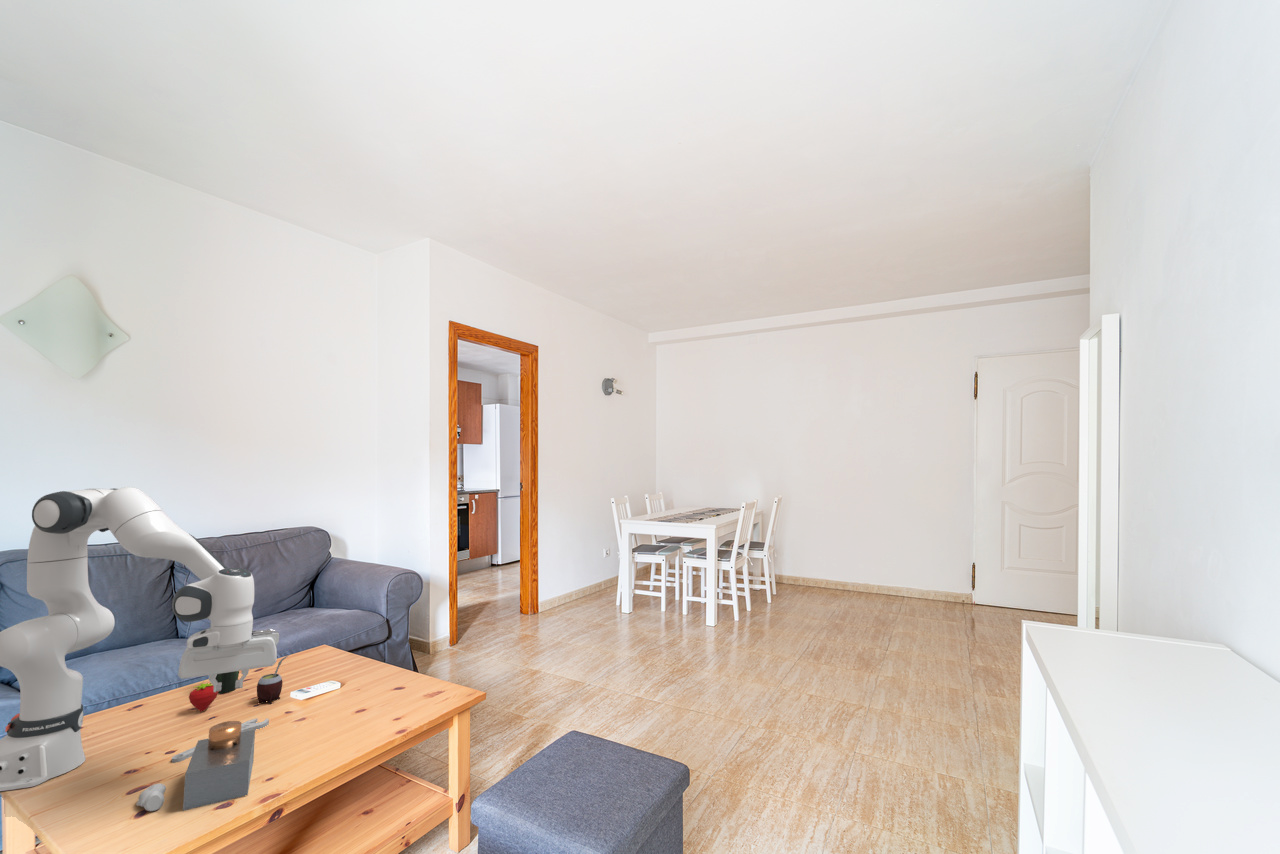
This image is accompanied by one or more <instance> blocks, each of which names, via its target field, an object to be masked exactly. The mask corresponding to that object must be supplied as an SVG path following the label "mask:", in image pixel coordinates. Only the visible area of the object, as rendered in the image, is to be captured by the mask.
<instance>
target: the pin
mask: <svg viewBox="0 0 1280 854" xmlns="http://www.w3.org/2000/svg"><path fill="white" fill-rule="evenodd" d="M241 723H242V721H239V720H230V721H229V720H228V721H223V722H220V723H217V724H215V725H212V726H210V728H209V729H208V738H207V739H208V748H209V749H212V750H219V749H224V748H228V747H231V746H234V745H236V744H237V743H239V742H240V740H241Z"/></svg>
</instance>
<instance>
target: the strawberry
mask: <svg viewBox="0 0 1280 854" xmlns="http://www.w3.org/2000/svg"><path fill="white" fill-rule="evenodd" d="M213 691H214V686H213V685H212V683H211V682H210V683H209V682H207V683H204V681H202V683H200V685H196V686H193V690H192V691H191V692H190V693H189V695H188V700H189V703H190V704H191V705H192V706H193V707H194V708H196V709H197V710H198V712H204V711H206V710H207V709H208V708H209V707H210V705H211V704H212V703H214V701H215V700H216V698H217V697H218V695H219V694H218V692H213Z"/></svg>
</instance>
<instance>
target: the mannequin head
mask: <svg viewBox="0 0 1280 854" xmlns="http://www.w3.org/2000/svg"><path fill="white" fill-rule="evenodd" d="M166 791H167V787H166V785H165V784H164V783H154V784H152V785H150V786H148V787H146V789H144V790H143V791H142V792H140V794H139V797H138V800H137V801H136V804H135V805H136V806H137V807H142V808H144V810H145V811H147V812H157V811H158V810H160V809H161V808H162V807H163V805H164V802H165V796H164V794H165V792H166Z"/></svg>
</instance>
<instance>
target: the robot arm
mask: <svg viewBox="0 0 1280 854" xmlns="http://www.w3.org/2000/svg"><path fill="white" fill-rule="evenodd" d="M31 519H32V522H33V524H34V527H33V529H32V532H31V535H30V539H29V543H28V549H27V550H28V551H27V561H26V591H27V594H28V595H29V596H30V597H32V598H34V599H37V600H38V601H42V602H43V603H44V604H45V606H46V608H47V611H48V614H47V615H44V616H39V617H36V618H32V619H31V618H30V619H28V620H24V621H21V622H19V623H16V624H14V625H11V626H9V627H7V628H4V629H3V630H2V631H1V630H0V667H2V668H5V669H7V670H9V671H11V673H12V674H13V675H14V676H15V677H16V680H17V682H18V685H19V690H20V697H19V698H20V699H19V701H20V703H19V713H17V714H15V715H14V716H13V717H11V719H10V721H9V722H8V723H7V725H6V726H5V731H4V732H5V733H6V735H5V736H3V737H2V738H0V792H5V791H13V790H18V789H19V790H21V789H25V788H31V787H32V788H33V787H36V786H38V785H40V784H43V783H45V782H46V781H48V780H51V779H53V778H56V777H58V776H61V775H64V774H66V773H68V772H70V771H73V770H74V769H76V768H78V767H80V766H81V765H82V764H83V763H85V761H86V755H85V752H84V748H83V744H82V736H81V735H82V734H81V732H82V731H81V729H82V726H83V722H84V705H83V704H82V699H83V688H84V687H83V686H84V677H83V675H82V674H81V673H80V672H79V671H78V670H74V669H70V668H68V667H67V665H66V664H67V663H66V659H65V657H66V655H68V654H71V653H74V652H78V651H81V650H83V649H87V648H89V647H92V646H94V645H95V644H97V643H100V642H101V641H103V640H106V638H108V637H109V636H110V635H111V634H112V632H113V631H114V628H115V621H116V620H115V616H114V614H113V612H112V611H111V610H110V609H109V608H107V607H105V606H104V605H101V603H99V602H98V601H97V599H96V598H95V597H94V595H93V593H92V591H91V590H92V589H91V588H90V583H89V571H88V570H89V569H88V568H89V566H88V564H89V563H88V561H89V560H88V558H89V556H88V554H89V553H88V543H89V539H90V537H91V535H92V534H94V533H95V532H101V533H104V532H107V531H110V533H111V534H112V535H113V537H114V538H115V540H116V541H117V543H119V544H120V546H121V547H122V548H123V549H124V550H126V551H127V552H129V553H130V554H132V555H134V556H136V557H139V558H140V557H141V558H148V559H162V560H168V561H173V562H177V563H180V564H182V565H184V566H185V567H187V568H188V569H189V571H191V572H192V573H193V574H194V575H195V576H196V577H197V578H198V579H199V580H198V581H196V582H192V583H189V584H186V585H185V586H182V587H180V588H179V589H178V590H177V591H176V592H175V594H174V596H173V597H172V600H171V601H172V603H171V607H172V608H171V609H172V612H173V614H174V615H175V617H176V618H177V619H178V620H180V621H181V622H184V623H192V622H193V623H195V622H199V621H203V620H206V619H207V620H210V627H208V628H206V629H203V630H200V631H197V632H195V633H193V634H191V635H190V636H189V637H188V638H187V640H186V649H185V650H184V651H183V653H182V655H181V657H180V660H179V661H180V662H179V666H178V672H177V676H178V677H179V678H180V679H181V680H185V679H193V678H198V677H205V676H208V681H209V682H210V683H212V684H211V685H213V686H214V691H213V692H219V691H221V688H222V687H221V685H222V682H220V683H218V682H217V681H216V679H215V678H216V676H217V674H221V673H228V672H234V671H239V672H240V671H241V677H240V678H239V679H238V680H236V683H235V685H236V686H235V690H237V689H242V688H243V686H244V685H243V684H244V681H245V679H246V677H247V676H248V675H249V670H254V669H261V668H268V667H273V666H274V665H275V664H276V663H277V657H278V653H277V652H278V650H277V645H278V644H279V643H280V633H279V632H278V631H277V630H275V629H273V628H268V629H263V630H262V629H259V630H253V627H254V617H253V612H252V610H253V606H254V604H255V579H254V576H253V574H252V572H251V571H249V570H248V569H245V568H240V567H239V568H238V567H227V566H226V565H225V564H224V563H223V562H222V560H220V559H219V558H218V557H217V556H216V555H215V554H214V553H213V552H212V551H211V550H210V549H208V547H207V546H206V545H205V544H204V543H202V542H201V541H200V540H199V539H198V538H196V537H195V536H194V535H192V534H190V533H188V532H187V531H186V530H184V529H183V528H181V527H180V526H179V525H177V523H175V521H173V520H172V519H171V518H170V517H169V516H168V515H167V514H166V512H165V511H164V510H163V508H161V506H159V505H158V503H156V502H155V501H154V500H153V499H152V498H151V497H150V496H149V495H148V494H147V493H145V491H142V490H141V489H139V488H137V487H133V486H127V487H125V486H124V487H120V488H84V489H77V490H70V491H69V490H68V491H64V490H63V491H56V492H52V493H49V494H45V495H43V496H42V497H40V498H39V499H37V500H36V502H35V503H34V505H33V507H32V510H31Z"/></svg>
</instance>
